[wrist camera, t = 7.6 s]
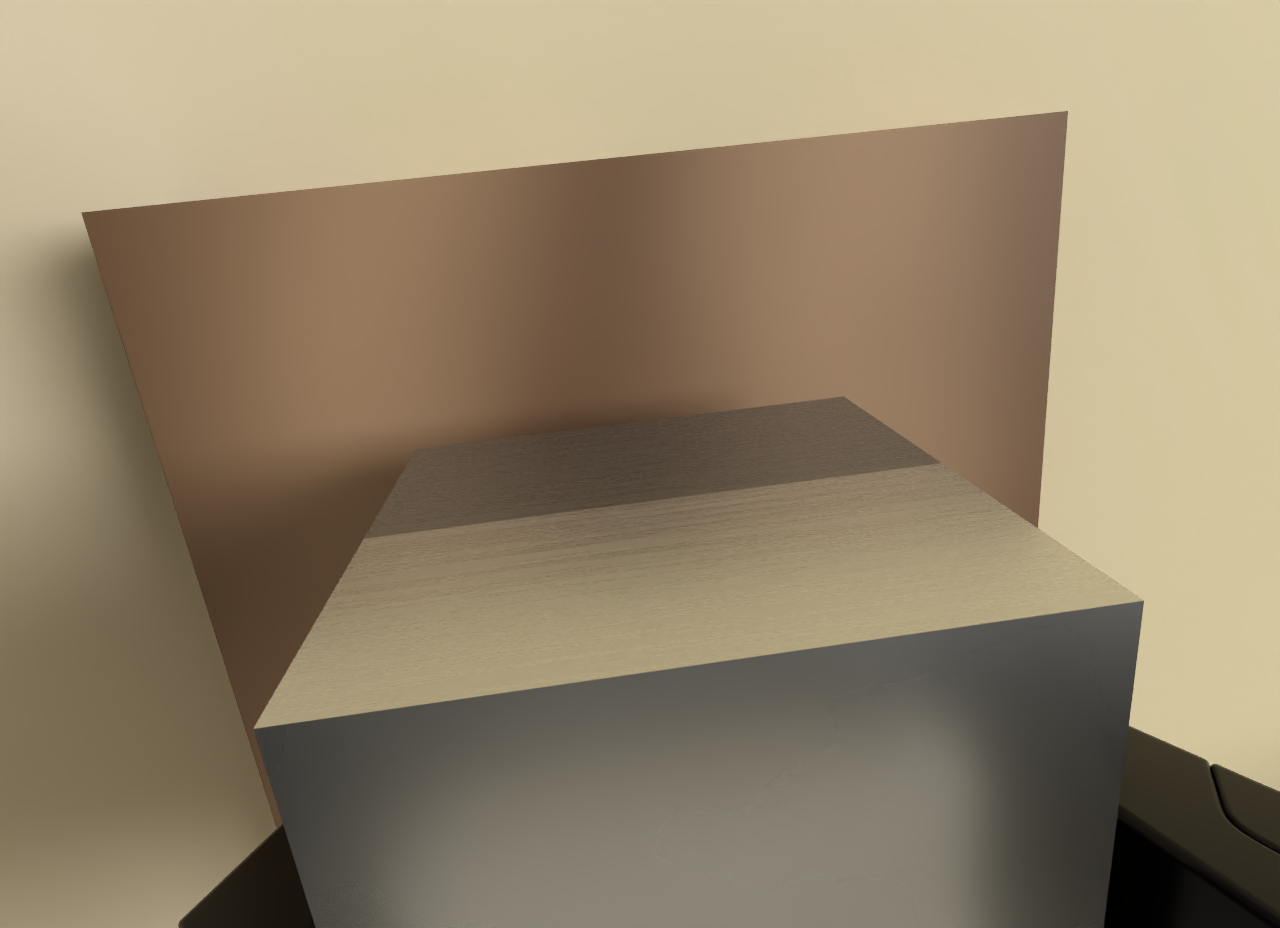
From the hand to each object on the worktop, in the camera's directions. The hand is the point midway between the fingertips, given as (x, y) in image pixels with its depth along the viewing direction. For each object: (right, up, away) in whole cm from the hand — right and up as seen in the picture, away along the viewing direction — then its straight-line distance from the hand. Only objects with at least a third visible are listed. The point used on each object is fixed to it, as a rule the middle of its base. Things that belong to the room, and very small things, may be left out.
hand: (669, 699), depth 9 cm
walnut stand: (-1, +1, +4) cm, 5 cm away
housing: (0, 0, +1) cm, 1 cm away
